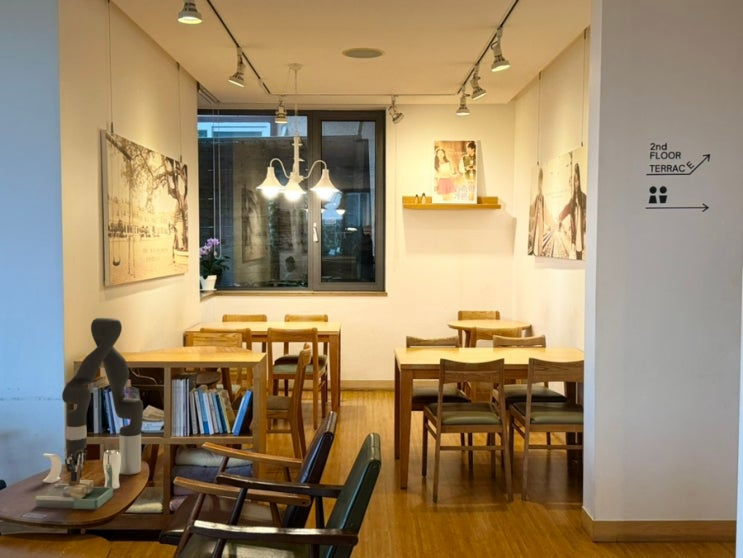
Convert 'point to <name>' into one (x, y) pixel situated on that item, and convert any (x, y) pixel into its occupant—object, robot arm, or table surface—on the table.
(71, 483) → the rake tool
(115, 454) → the beer glass
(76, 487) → the maple cube
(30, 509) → the table surface
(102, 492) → the chip tray
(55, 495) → the open box
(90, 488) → the maple cube
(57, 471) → the headphone stand
